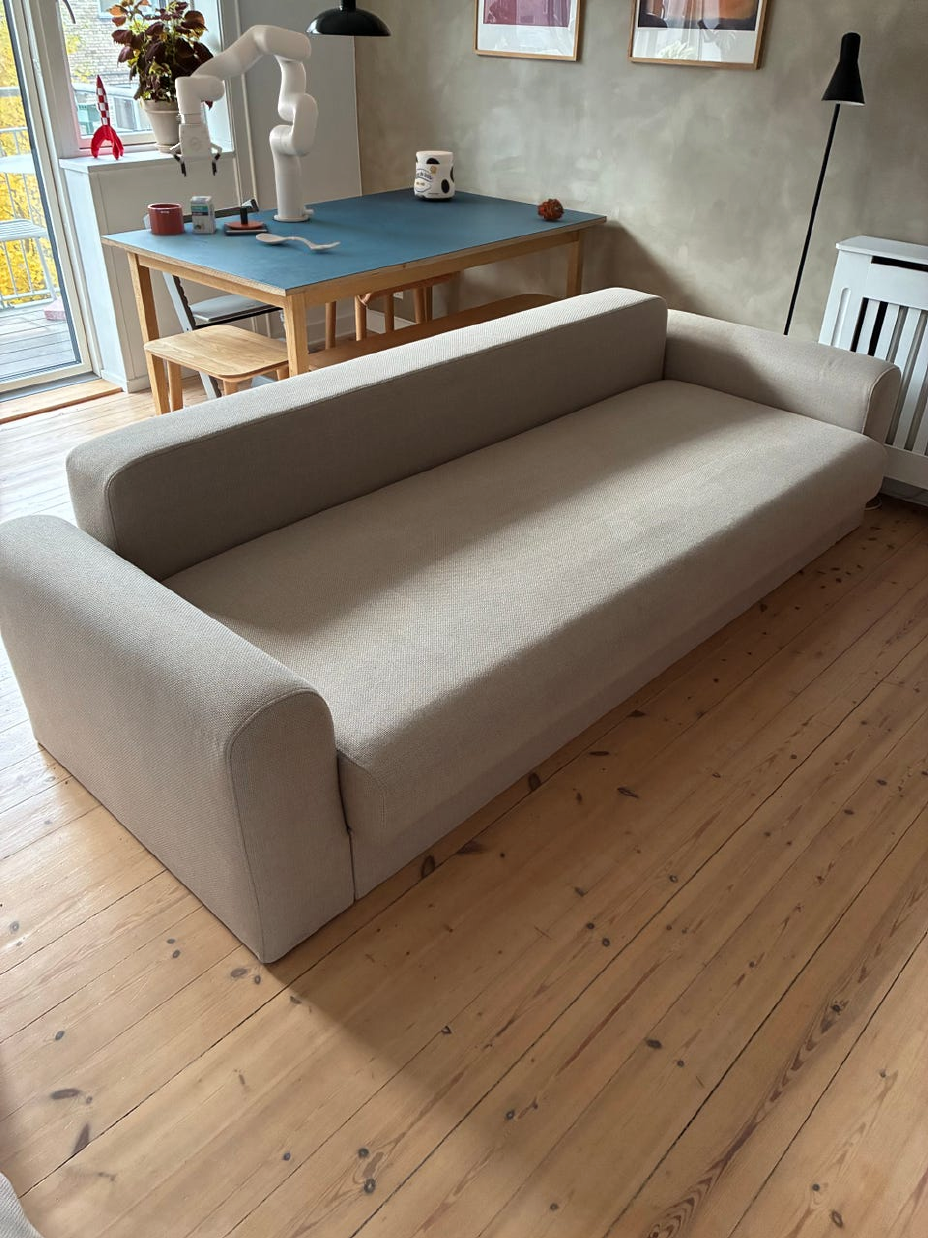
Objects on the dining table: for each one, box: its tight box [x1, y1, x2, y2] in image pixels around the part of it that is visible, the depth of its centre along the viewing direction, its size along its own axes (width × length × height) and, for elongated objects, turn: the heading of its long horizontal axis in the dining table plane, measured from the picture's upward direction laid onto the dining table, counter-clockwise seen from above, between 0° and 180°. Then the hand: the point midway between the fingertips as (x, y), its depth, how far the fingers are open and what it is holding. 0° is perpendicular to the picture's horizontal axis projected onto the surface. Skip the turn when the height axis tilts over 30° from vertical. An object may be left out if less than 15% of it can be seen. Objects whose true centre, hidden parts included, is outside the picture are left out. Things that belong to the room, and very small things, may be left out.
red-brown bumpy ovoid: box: [536, 198, 565, 222], centre depth 363 cm, size 8×8×12 cm
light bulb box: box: [189, 195, 217, 235], centre depth 331 cm, size 11×7×11 cm, turn 6°
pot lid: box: [227, 206, 262, 230], centre depth 335 cm, size 12×12×7 cm
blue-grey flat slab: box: [223, 221, 269, 237], centre depth 337 cm, size 14×20×1 cm
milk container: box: [413, 150, 456, 202], centre depth 397 cm, size 17×17×18 cm
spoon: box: [255, 233, 341, 252], centre depth 311 cm, size 9×32×4 cm, turn 56°
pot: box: [147, 202, 186, 236], centre depth 329 cm, size 11×17×8 cm
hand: (199, 175), depth 325 cm, fingers open, 9 cm apart
